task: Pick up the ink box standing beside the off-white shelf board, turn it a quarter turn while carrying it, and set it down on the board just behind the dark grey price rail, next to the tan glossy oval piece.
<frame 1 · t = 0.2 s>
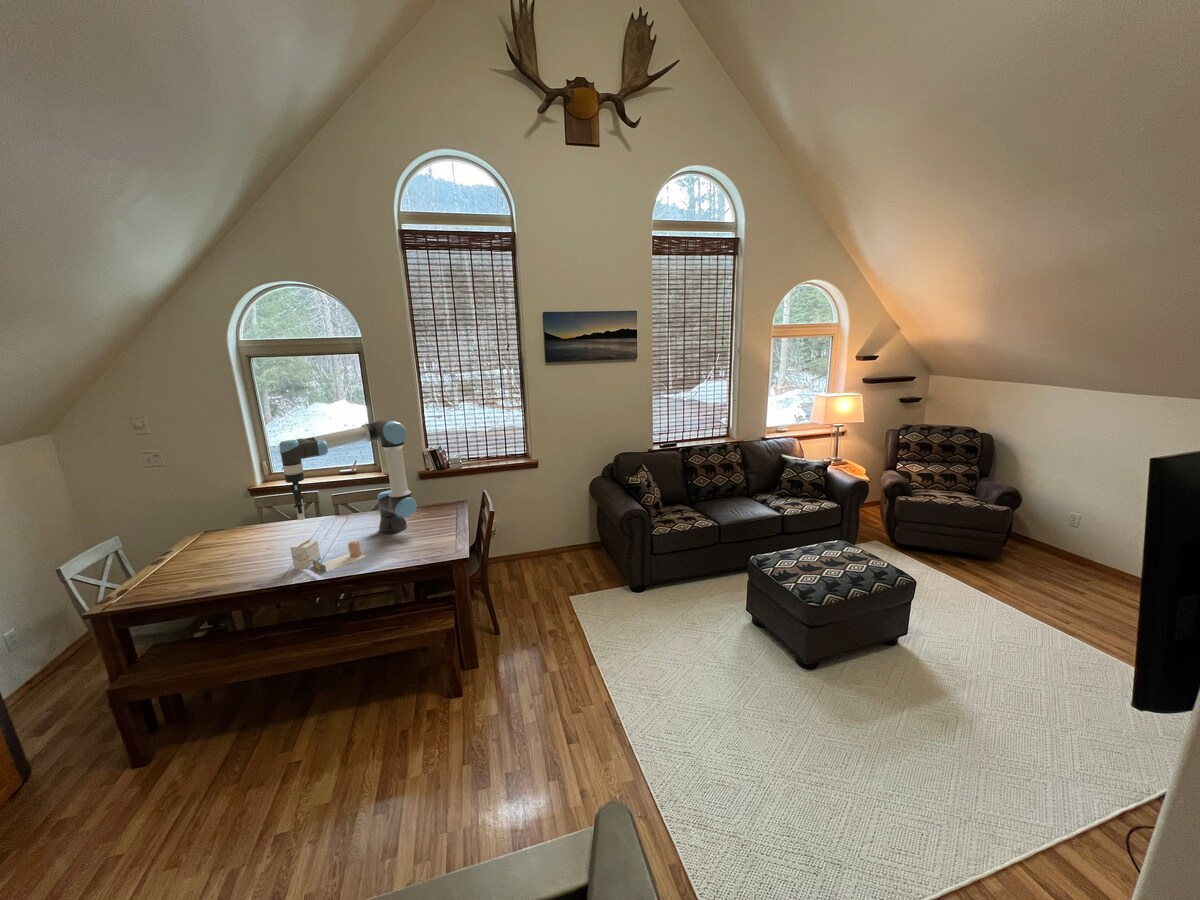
hand: (301, 516, 227), 26 cm above the table, fingers open, 13 cm apart
ink box: (308, 566, 234), on the table
tan glossy oval piece: (355, 555, 239), point 1 cm above the table, touching shelf board
shelf board: (340, 564, 234), on the table
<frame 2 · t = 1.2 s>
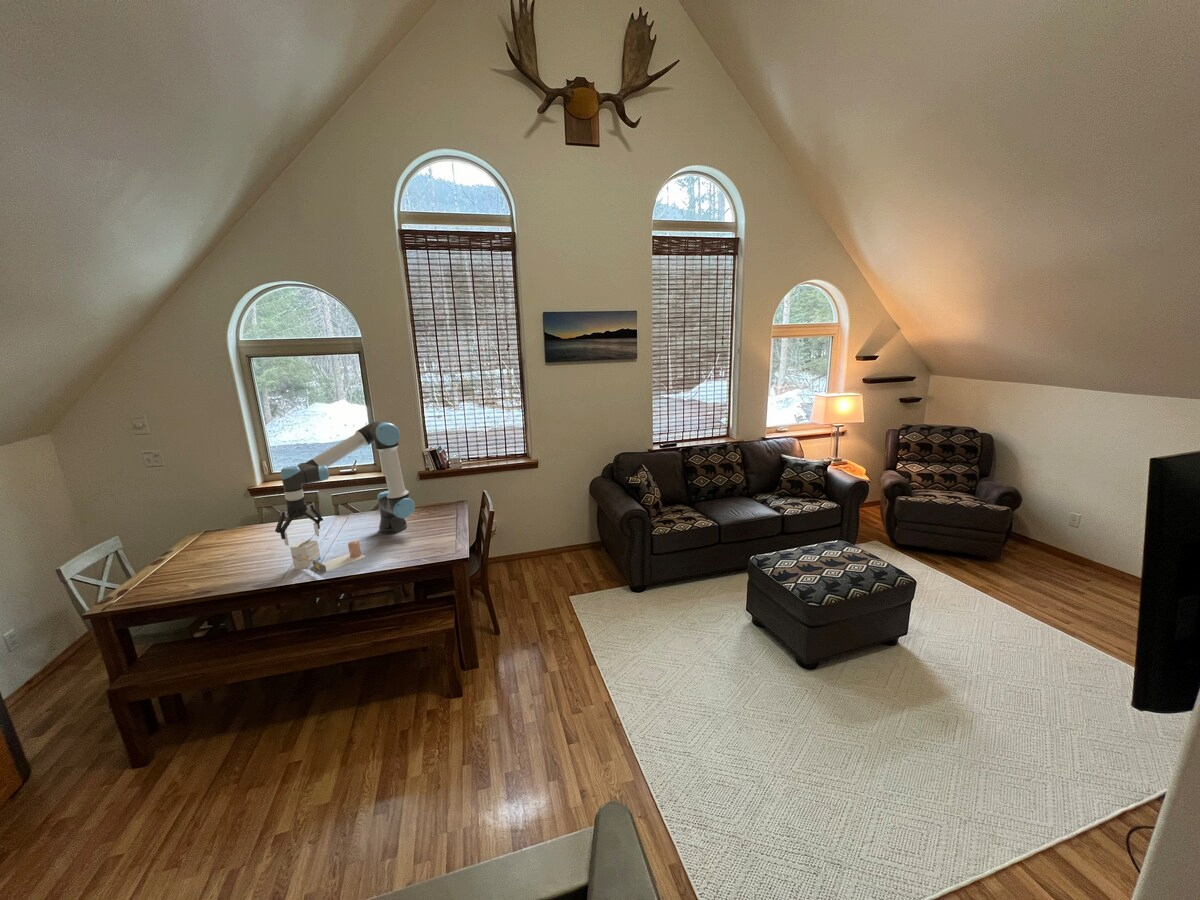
hand: (302, 540, 231), 13 cm above the table, fingers open, 13 cm apart
nothing on the table moved.
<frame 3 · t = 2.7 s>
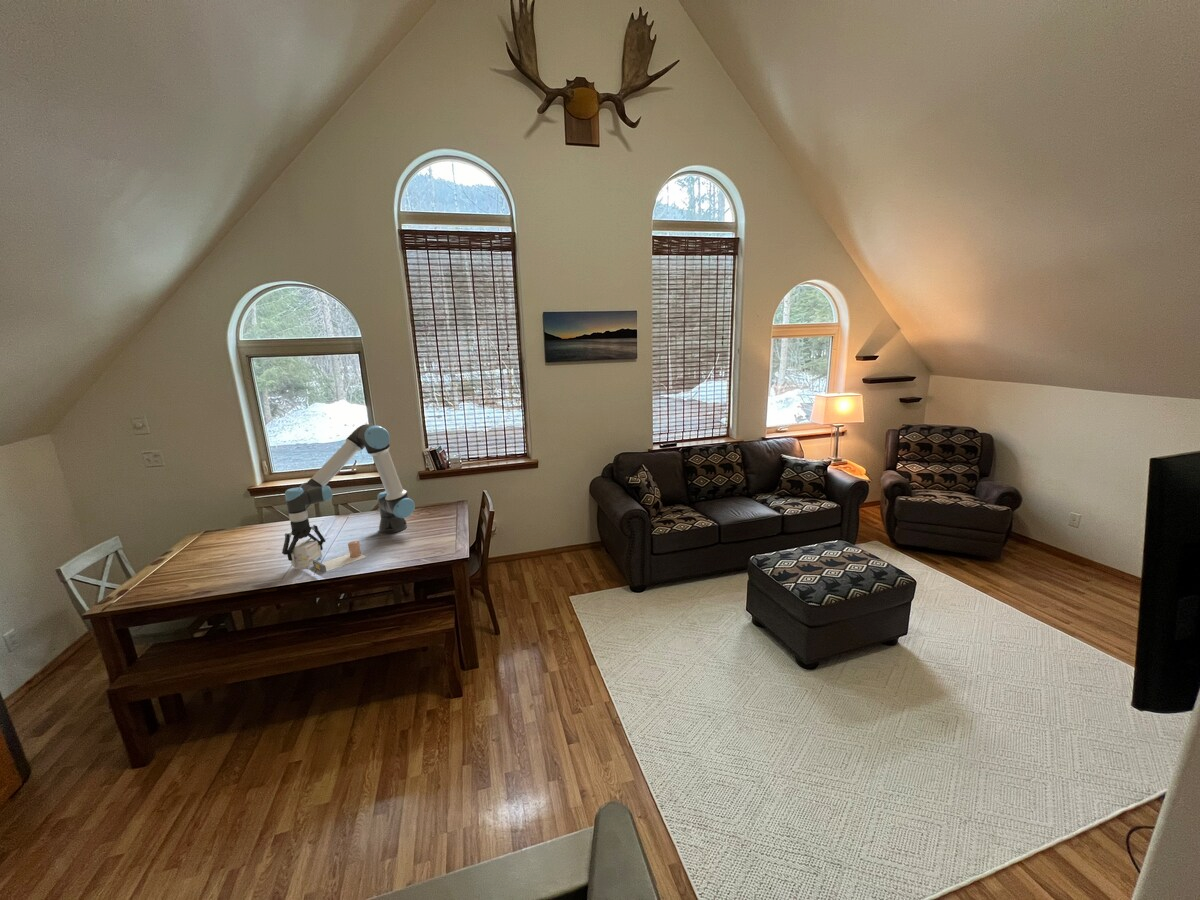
hand: (307, 561, 234), 2 cm above the table, fingers closed on ink box, 11 cm apart
ink box: (308, 565, 234), on the table, touching gripper
everything else where it was.
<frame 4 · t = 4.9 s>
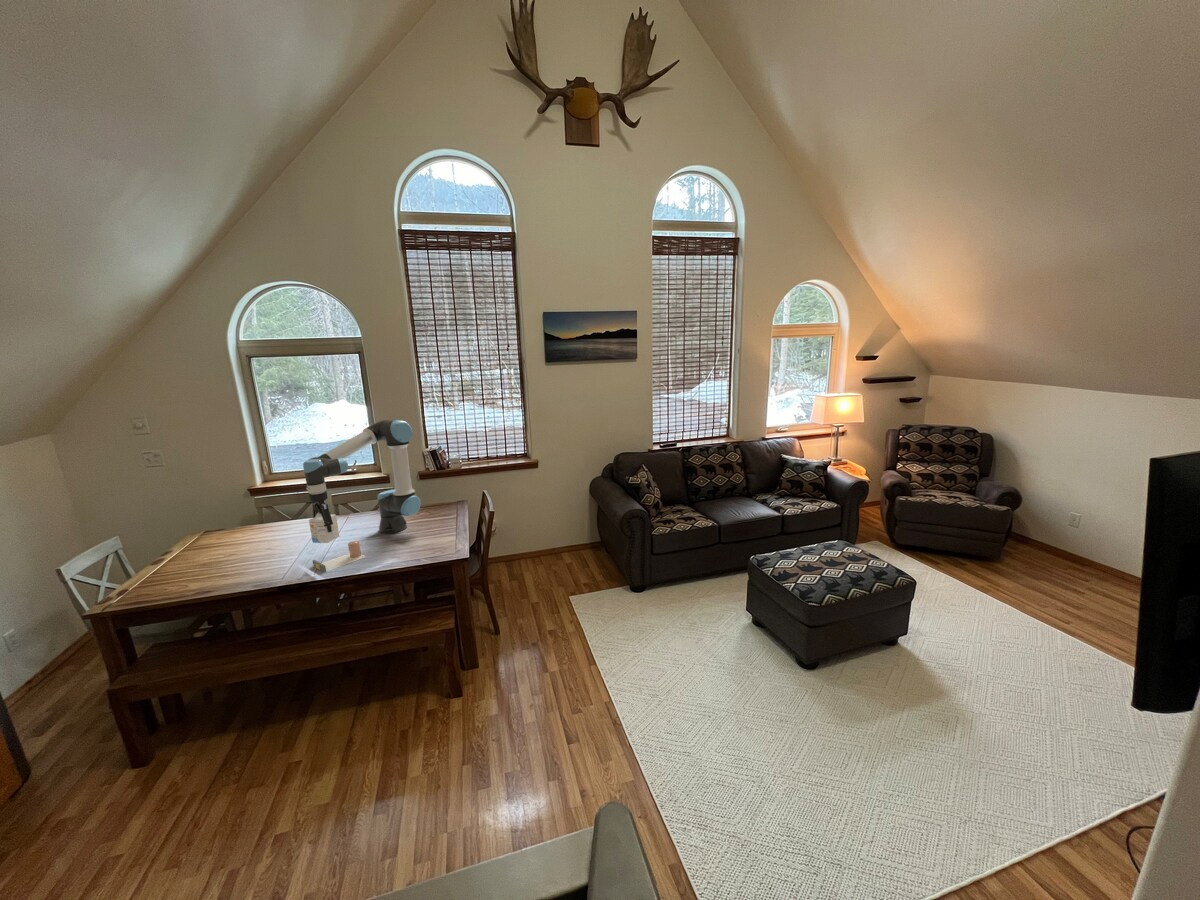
hand: (325, 535, 229), 16 cm above the table, fingers closed on ink box, 11 cm apart
ink box: (326, 540, 230), point 14 cm above the table, touching gripper
everything else where it was.
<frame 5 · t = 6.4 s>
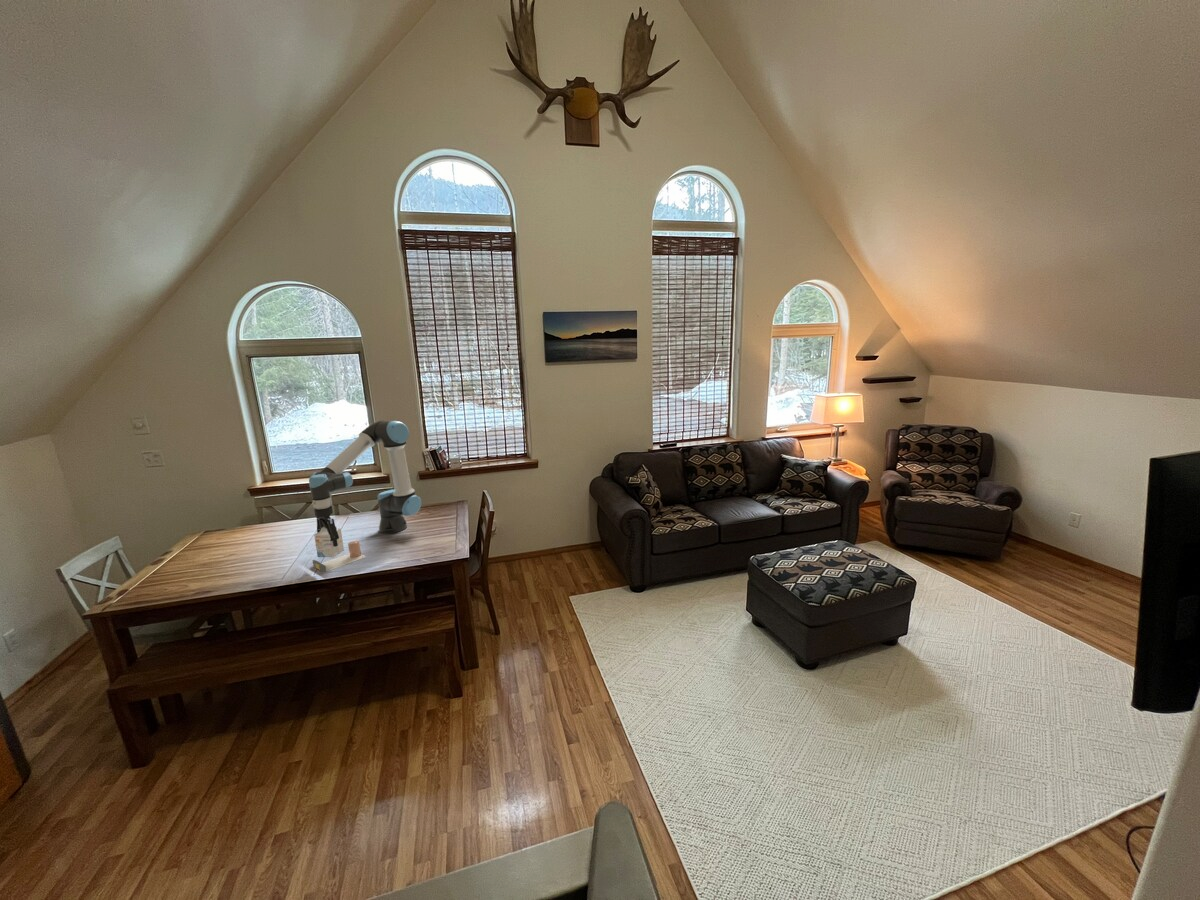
hand: (330, 549, 230), 9 cm above the table, fingers closed on ink box, 11 cm apart
ink box: (331, 554, 231), point 6 cm above the table, touching gripper
everything else where it was.
when the fingers open (6 cm above the table, at t = 7.6 s): ink box drops 2 cm, resting on shelf board.
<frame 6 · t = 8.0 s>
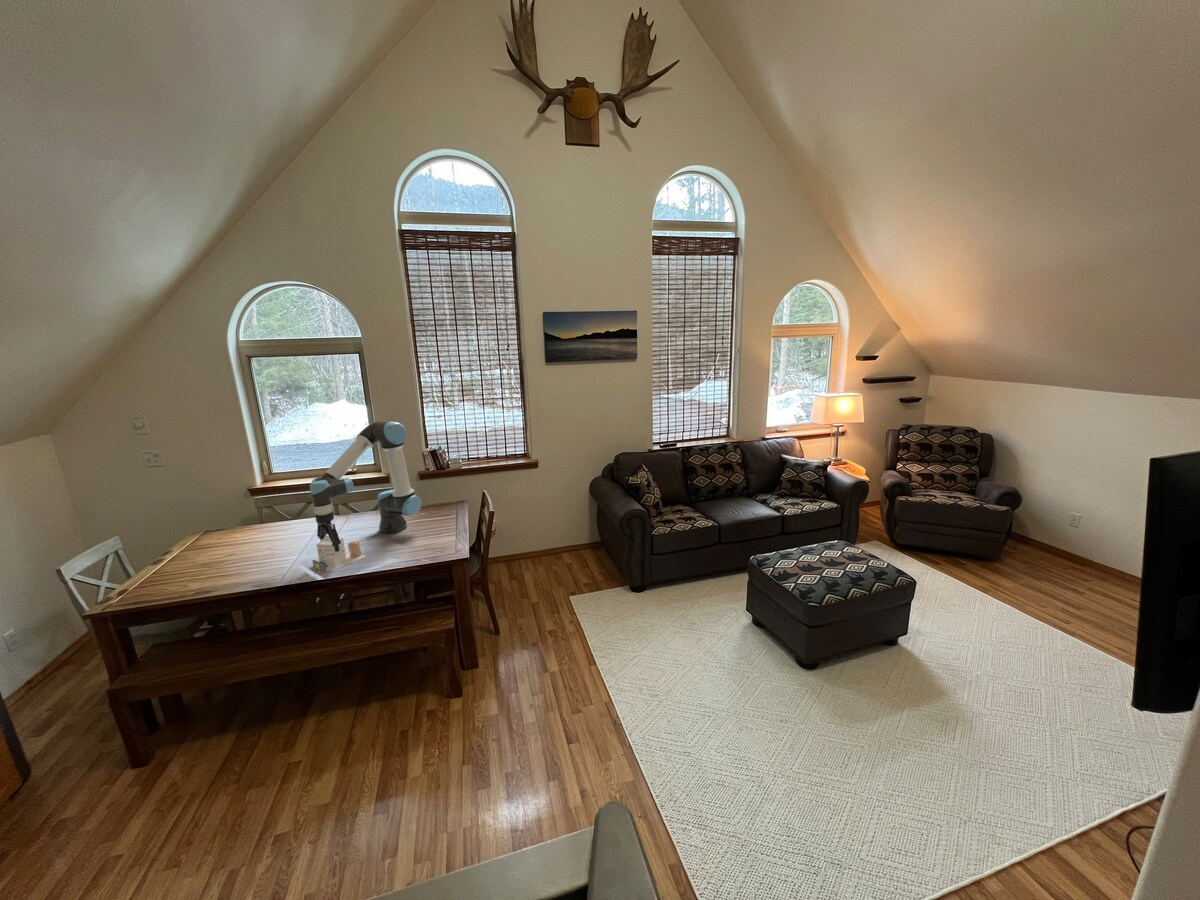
hand: (331, 554, 231), 6 cm above the table, fingers open, 13 cm apart
ink box: (333, 563, 232), point 1 cm above the table, touching shelf board
everything else where it was.
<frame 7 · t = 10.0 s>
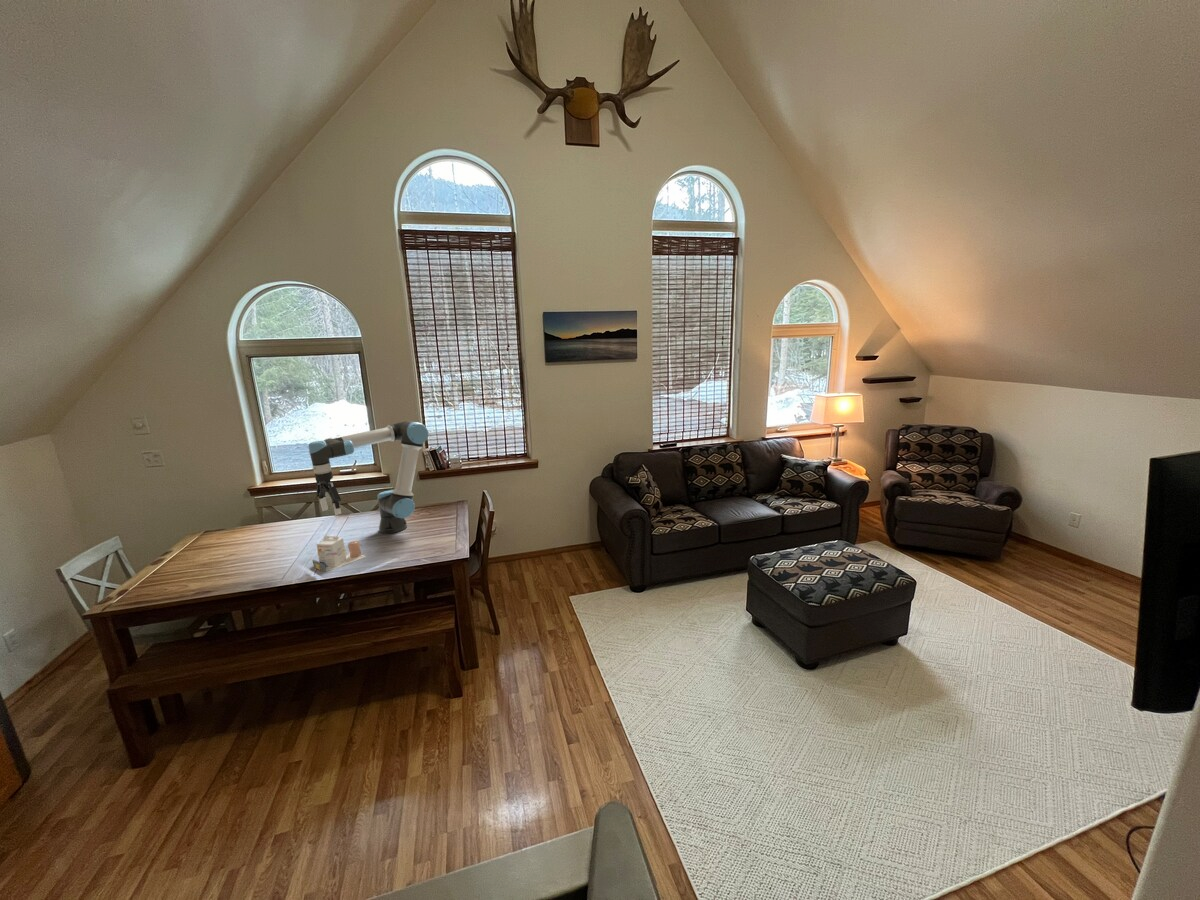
hand: (331, 512, 240), 23 cm above the table, fingers open, 13 cm apart
nothing on the table moved.
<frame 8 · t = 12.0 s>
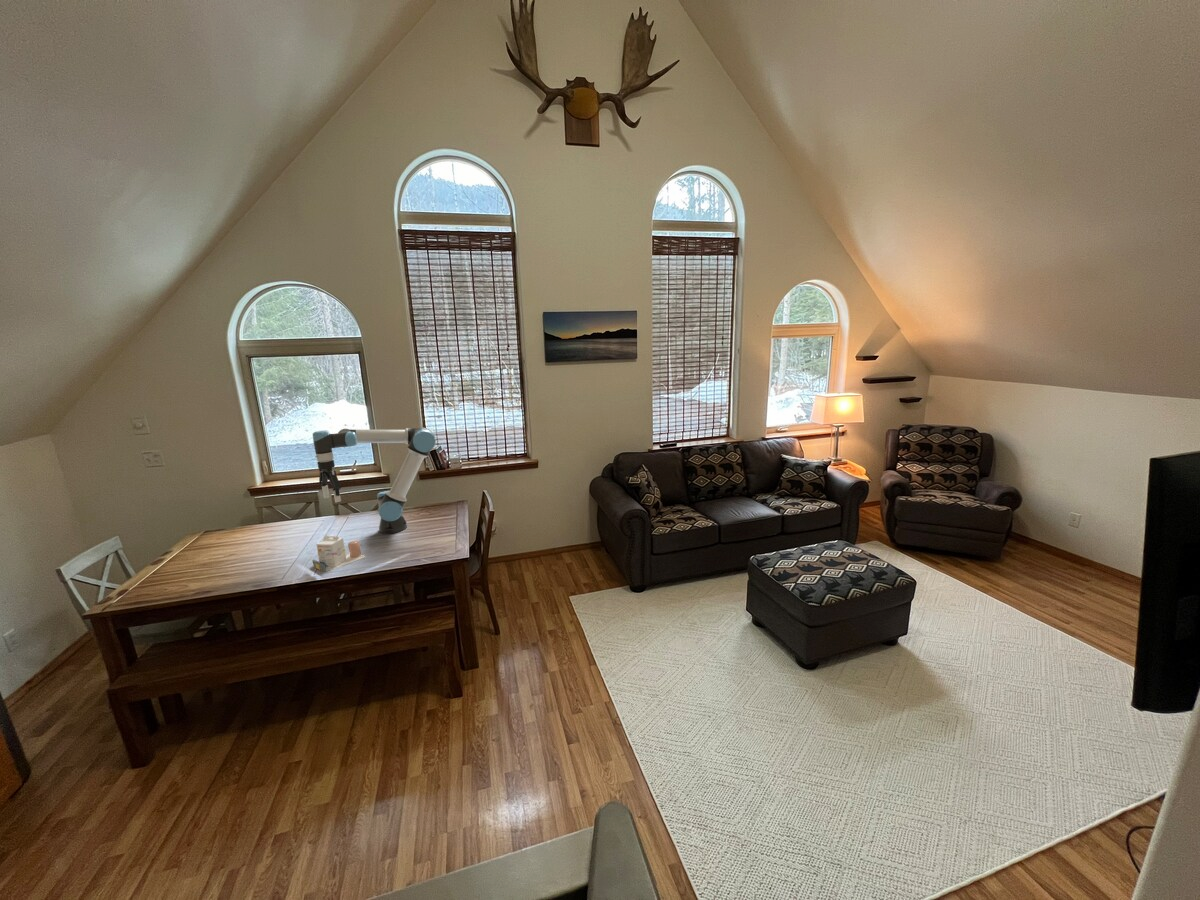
hand: (332, 499, 250), 27 cm above the table, fingers open, 13 cm apart
nothing on the table moved.
at the end: ink box inside the target area on the shelf board (2.1 cm from its centre), point 1.3 cm above the shelf board's base; ink box tilted 0°; the gripper is holding nothing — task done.
